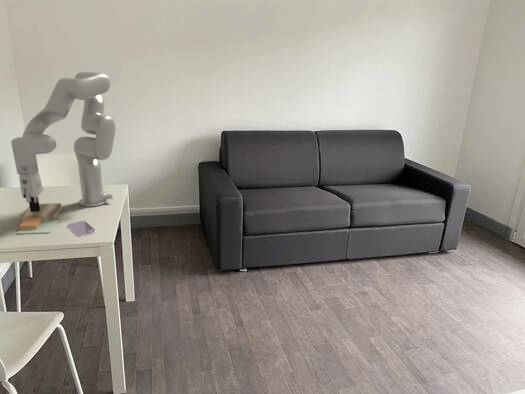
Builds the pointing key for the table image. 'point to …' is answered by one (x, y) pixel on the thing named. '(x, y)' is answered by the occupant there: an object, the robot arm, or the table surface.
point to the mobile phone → (82, 228)
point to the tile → (31, 223)
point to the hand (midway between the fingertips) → (35, 211)
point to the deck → (43, 212)
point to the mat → (41, 228)
